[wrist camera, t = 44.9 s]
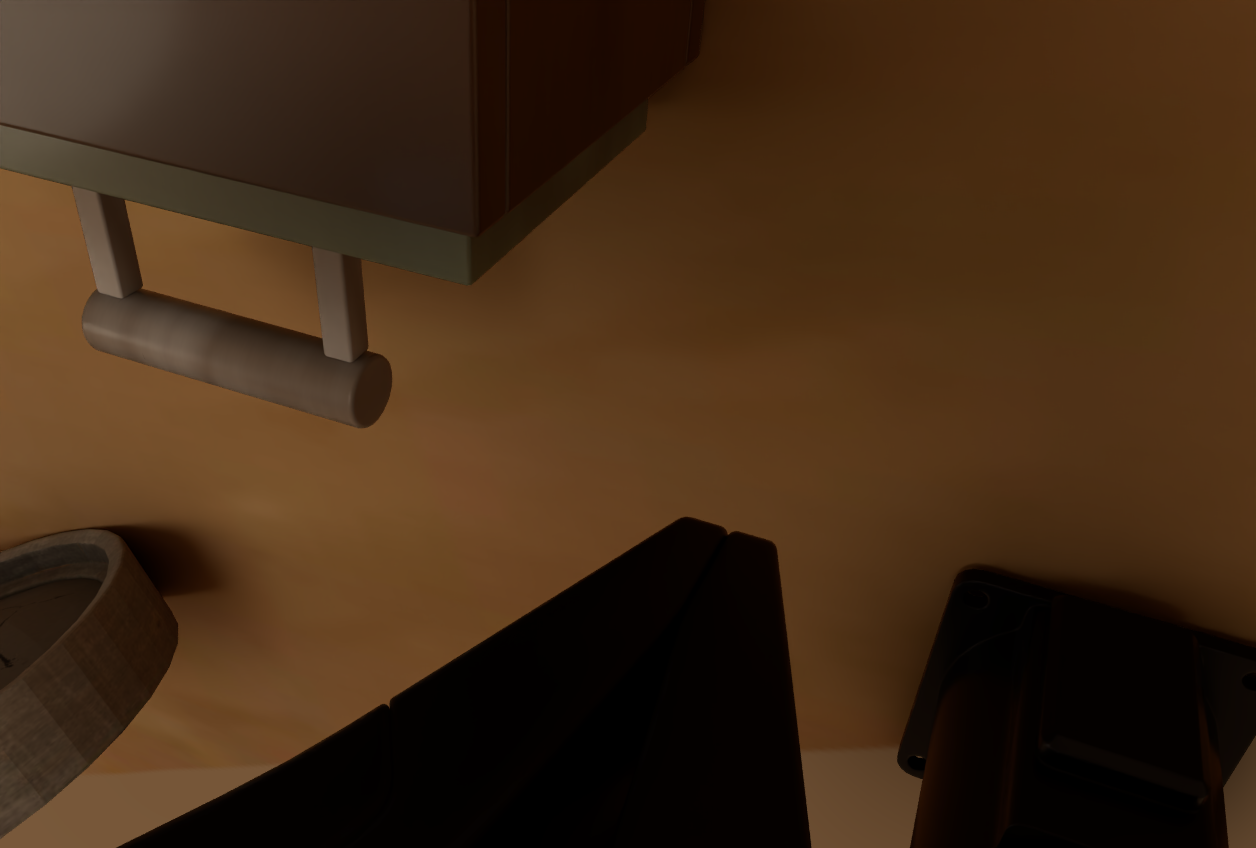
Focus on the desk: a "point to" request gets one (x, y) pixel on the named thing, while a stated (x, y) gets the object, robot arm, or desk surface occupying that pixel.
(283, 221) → the drawer
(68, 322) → the desk surface
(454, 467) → the desk surface
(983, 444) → the desk surface
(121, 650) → the magnifying glass
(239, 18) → the cabinet
